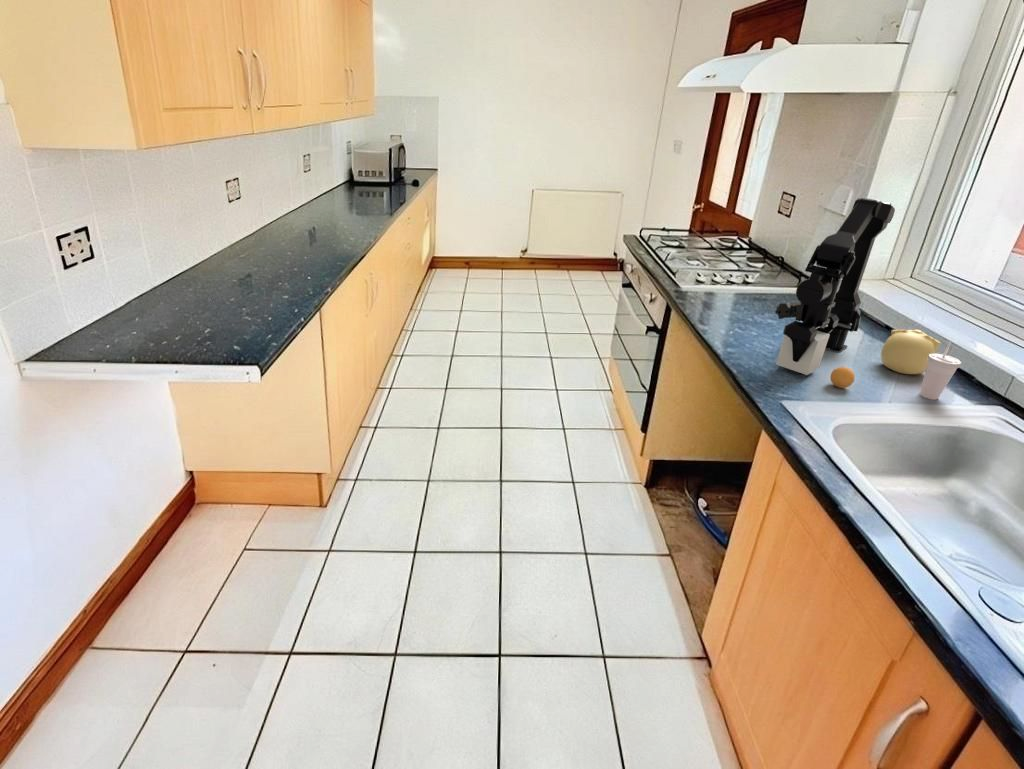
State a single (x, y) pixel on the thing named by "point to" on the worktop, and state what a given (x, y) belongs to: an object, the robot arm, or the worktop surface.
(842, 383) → the ball
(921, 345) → the pale yellow rounded lump
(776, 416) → the worktop surface
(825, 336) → the chalk-white cube
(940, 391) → the smoothie
